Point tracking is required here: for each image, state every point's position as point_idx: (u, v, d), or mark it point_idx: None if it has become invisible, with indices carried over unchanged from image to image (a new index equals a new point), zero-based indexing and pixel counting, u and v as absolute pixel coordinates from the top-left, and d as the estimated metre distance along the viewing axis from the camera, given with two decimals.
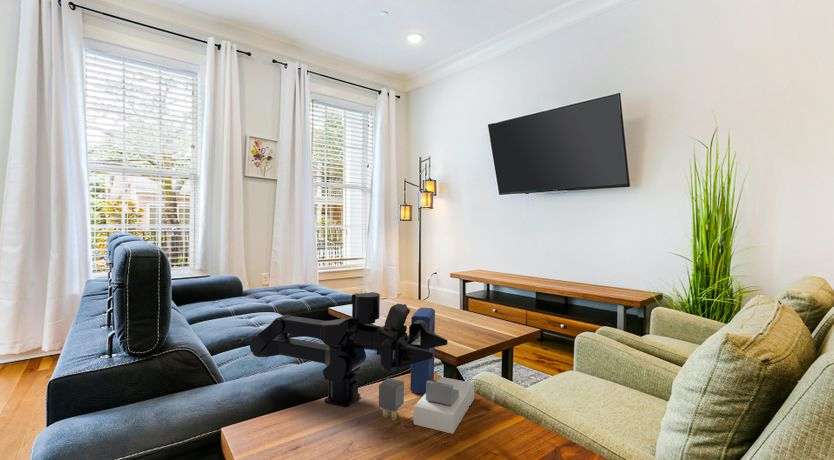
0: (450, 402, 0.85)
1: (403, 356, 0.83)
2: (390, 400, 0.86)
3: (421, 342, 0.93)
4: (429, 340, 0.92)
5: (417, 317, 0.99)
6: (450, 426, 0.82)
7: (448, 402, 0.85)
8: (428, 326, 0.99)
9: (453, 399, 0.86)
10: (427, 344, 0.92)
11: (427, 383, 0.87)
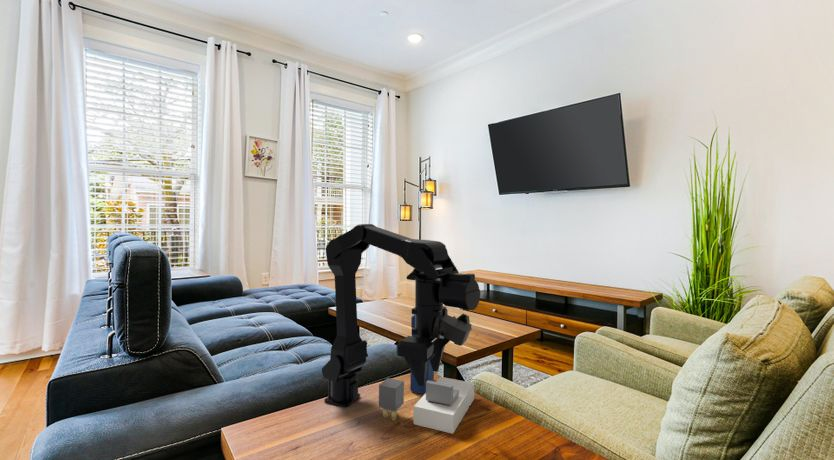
0: (450, 402, 0.85)
1: None
2: (390, 400, 0.86)
3: None
4: (434, 350, 0.84)
5: None
6: (450, 426, 0.82)
7: (448, 402, 0.85)
8: None
9: (453, 399, 0.86)
10: None
11: (427, 383, 0.87)
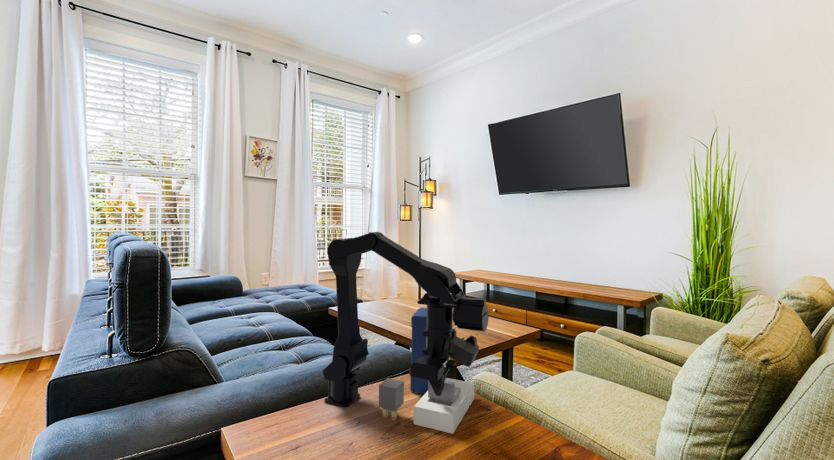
0: (452, 399, 0.86)
1: None
2: (390, 400, 0.86)
3: None
4: None
5: (417, 317, 0.99)
6: (450, 426, 0.82)
7: (450, 399, 0.87)
8: None
9: (455, 396, 0.88)
10: None
11: None
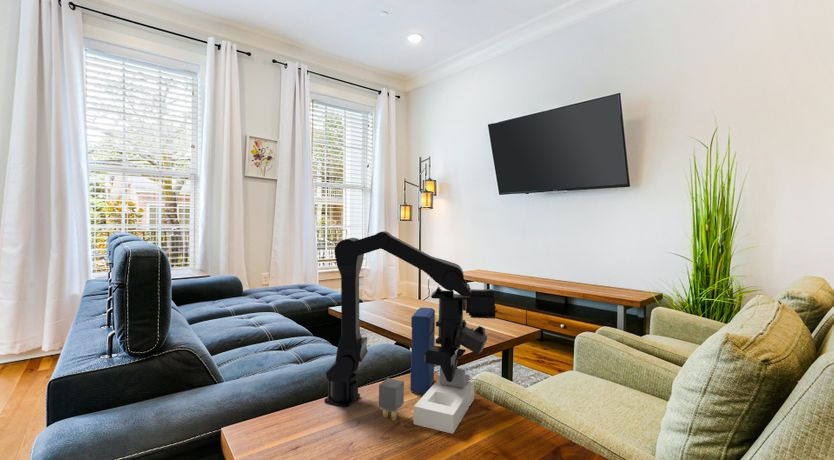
0: (462, 385, 0.94)
1: None
2: (390, 400, 0.86)
3: None
4: None
5: (417, 317, 0.99)
6: (450, 426, 0.82)
7: (460, 385, 0.94)
8: (428, 326, 0.99)
9: (465, 383, 0.95)
10: None
11: None
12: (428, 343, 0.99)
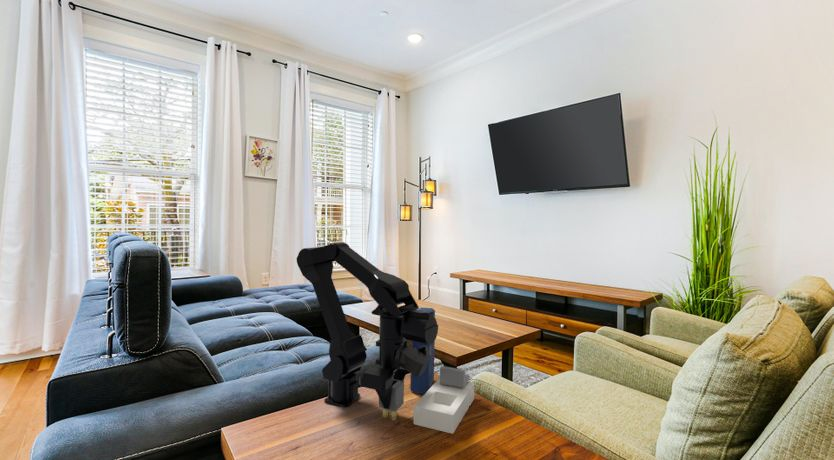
0: (462, 385, 0.94)
1: None
2: (390, 400, 0.86)
3: None
4: (395, 379, 0.91)
5: None
6: (450, 426, 0.82)
7: (460, 385, 0.94)
8: None
9: (465, 383, 0.95)
10: None
11: (441, 368, 0.96)
12: None
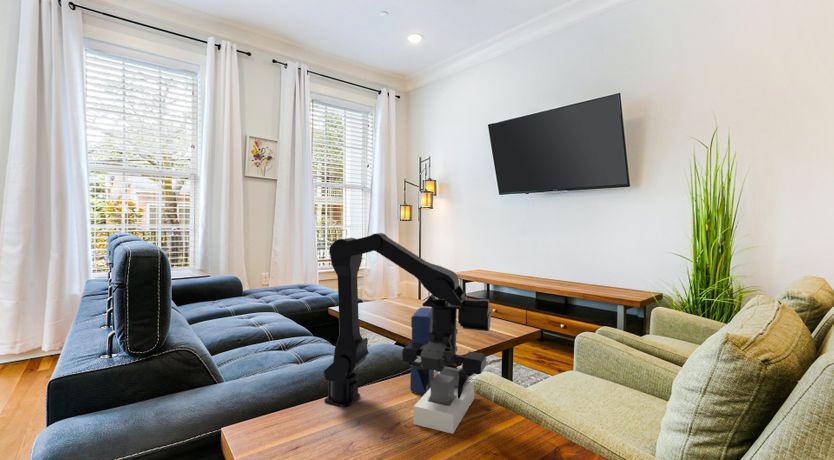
0: None
1: None
2: None
3: None
4: None
5: (417, 317, 0.99)
6: (450, 426, 0.82)
7: None
8: (428, 326, 0.99)
9: None
10: None
11: None
12: None
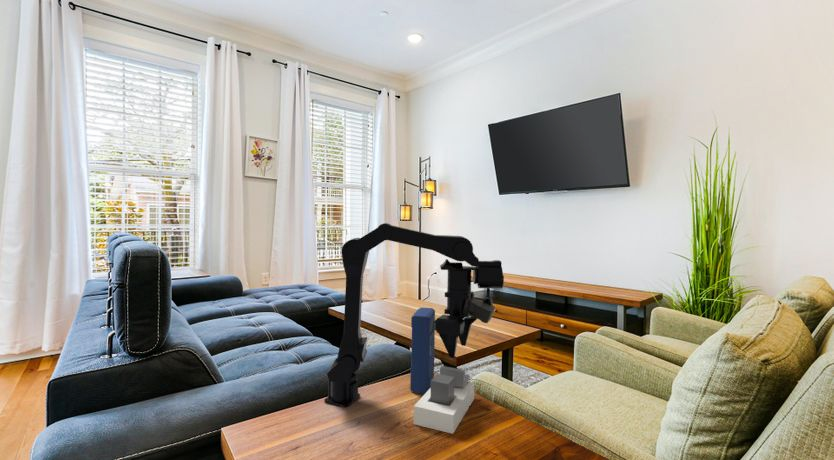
0: (462, 385, 0.94)
1: None
2: None
3: None
4: None
5: (417, 317, 0.99)
6: (450, 426, 0.82)
7: (460, 385, 0.94)
8: (428, 326, 0.99)
9: (465, 383, 0.95)
10: None
11: (441, 368, 0.96)
12: (428, 343, 0.99)
